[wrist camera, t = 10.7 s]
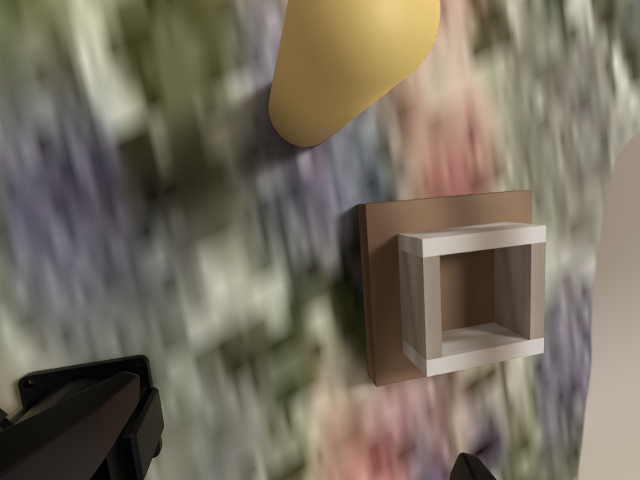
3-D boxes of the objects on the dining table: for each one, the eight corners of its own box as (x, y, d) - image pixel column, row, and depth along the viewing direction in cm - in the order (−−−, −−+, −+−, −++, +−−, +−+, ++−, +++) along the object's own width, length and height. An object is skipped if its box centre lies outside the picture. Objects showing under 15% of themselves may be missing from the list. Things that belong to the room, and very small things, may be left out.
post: (303, 162, 20) (363, 118, 9) (252, 104, 19) (256, -17, 8) (353, 115, 20) (467, 21, 10) (306, 56, 19) (376, -121, 9)
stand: (368, 374, 23) (396, 416, 18) (357, 204, 21) (385, 205, 17) (513, 345, 25) (569, 376, 21) (514, 190, 24) (574, 188, 19)
